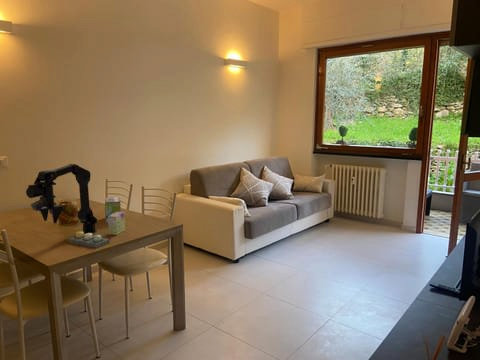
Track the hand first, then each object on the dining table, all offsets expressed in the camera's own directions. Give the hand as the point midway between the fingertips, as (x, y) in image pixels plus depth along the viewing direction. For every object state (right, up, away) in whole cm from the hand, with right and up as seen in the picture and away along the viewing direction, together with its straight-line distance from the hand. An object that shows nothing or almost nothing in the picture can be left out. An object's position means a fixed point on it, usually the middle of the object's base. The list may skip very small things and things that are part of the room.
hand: (50, 222), depth 195 cm
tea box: (+15, -5, +55) cm, 58 cm away
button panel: (+17, -13, +10) cm, 23 cm away
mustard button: (+11, -10, +12) cm, 19 cm away
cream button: (+17, -11, +9) cm, 22 cm away
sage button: (+23, -11, +6) cm, 27 cm away
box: (+27, -10, +28) cm, 40 cm away
